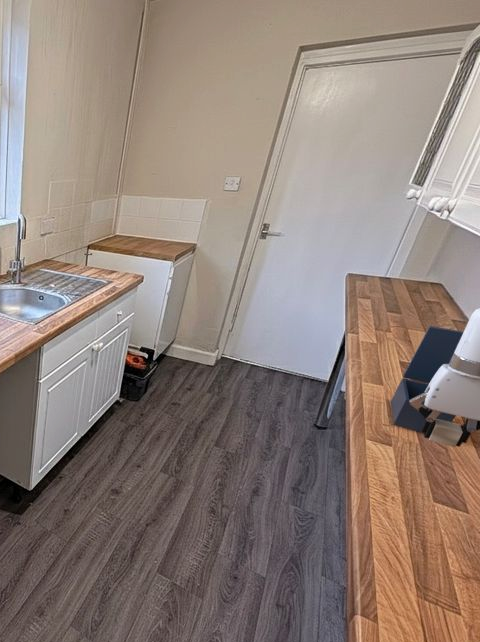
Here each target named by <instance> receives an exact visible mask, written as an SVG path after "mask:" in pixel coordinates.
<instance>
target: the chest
mask: <svg viewBox="0 0 480 642" xmlns="http://www.w3.org/2000/svg"><path fill="white" fill-rule="evenodd" d="M428 385H429V384H425V383H421V382H417V381H412V380H410V379H408V378H404V377H403V378H401V380H400V382H399V383H398V386H397V388H396V390H395V392H394V394H393V397H392V398H391V400H390V405H391V415H392V423H393V426H397V427H401V428H404V429H408V430H411V431H415V432H418V433H422V434H424V433H423V432H421V428H422V425H423V423H424V421H425V418H424V416H423V415H422V414H421V413H420V412H419V411H418V410H417V409H416V408H414V407H413V406H412V405H411V404H410V402H409V400H411V399H413V398H415V397H417V396H419V395H421V394H423V393H424V392H425V390H426V389H427V387H428ZM424 403H425V401H424V402H422V403H421V404H422V405H423V406H425V405H424ZM425 407H426V406H425ZM426 408H427V407H426ZM427 409H428V410H429V408H427ZM456 417H457V416H456V415H452V414H447V413H443V412H441V413H440V415H439V416H438V417H437V418H436V419H440V420H444V421H448V422H452V423H453V421H454V419H455V418H456Z"/></svg>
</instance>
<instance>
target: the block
mask: <svg viewBox="0 0 480 642" xmlns="http://www.w3.org/2000/svg"><path fill="white" fill-rule="evenodd" d="M435 420H436V421H435V423H436V425H435V427H434V429H433V431H432V433H431V435H430V438H427V439H428V441H429V442H432V443H433V442H434V443H437V444H441V445H444V446H447V447H448V446H449V447H451V448H456V447H457V446H456V445H457V443H458V441H459V439H460V437H461V435H462V433H463V432H462V429H461V424H460V423H455V422H453V421H452V422H448V421H444V420H440V419H435Z"/></svg>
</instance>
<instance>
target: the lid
mask: <svg viewBox="0 0 480 642" xmlns="http://www.w3.org/2000/svg"><path fill="white" fill-rule="evenodd" d="M463 333H464V330H463V331H462V330H456V329H450V328H445V327H439V326H432V325H429V326H428V328H427V330H426V332H425V334H424V336H423V338H422V339H421V341H420V343H419V345H418V347H417V349H416V350H415V351H414V354H413V356H412V358H411V360H410V362H409V364H408V366H407V367H406V370H405V371H404V373H403V374H402V377H403V379H408V380H410V379H413V380H417V381H421V382H426V383H430V381H431V380H432V378H433V377H434V375H435V374H436V372H437V371H438V370H439V368H440V367H441V366H442V365H443V364H449V363H450V361H451V358H452V356H453V354H454V352H455V350H456V348H457V345H458V343H459V341H460V339H461V337H462V335H463Z"/></svg>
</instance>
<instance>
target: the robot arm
mask: <svg viewBox="0 0 480 642" xmlns="http://www.w3.org/2000/svg"><path fill="white" fill-rule="evenodd" d="M463 332H464V333H463V335H462V337H461V339H460V341H459V343H458V345H457V348H456V350H455V352H454V354H453V356H452V358H451V361H450V363H449V364H443V365H442V366H441V367H440V368H439V370H438V371H437V372H436V374H435V375H434V377H433V378H432V380H431V381H430V383H429V385H428V387H427V389H426V390H425V392H424V393H423V394H421V395H419V396H417V397H415V398H413V399H411V400H409V402H410V404H411V405H412V406H413V407H414V408H416V409H417V410H418V411H419V412H420V413H421V414H422V415H423V416H424V418H425V421H424V423H423V425H422V428H421V432H420V433H422V432H423V433H422V434H423V438H425V439H428V438H430V435H431V433H432V431H433V429H434V427H435V425H436V423H435V421H436V420H435V419H436V418H437V417H438V416H439V415H440V413H441V412H443V413H447V414H452V415H456V416H455V417H460V418H465V420H464V423H463V424H460V426H461V429H462V432H463V433H462V435H461V437H460V439H459V441H458V443H457V445H456V447H462V446H461V445H462V444H463V443H464V444H467V442H468V440H469V437H470V436H471V434H472V433H475V432H476V431H480V307H479V308H476V309H475V310H474V311H473V312H472V314H471V315H470V317H469V319H468V322H467V323H466V326H465V328H464V330H463ZM424 401H425V403H424V405H425V406H426V407H427V408H429V410H428V409H427V408H426V407H425V406H423V405H422V404H421V403H422V402H424Z"/></svg>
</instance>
